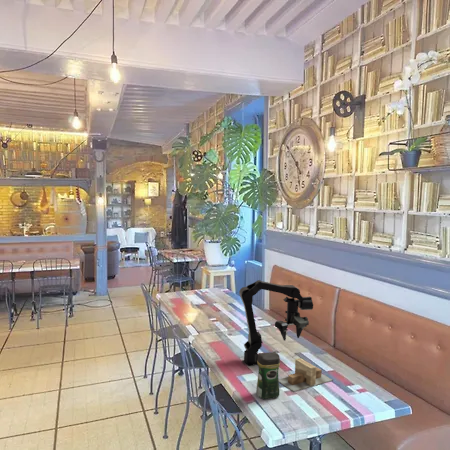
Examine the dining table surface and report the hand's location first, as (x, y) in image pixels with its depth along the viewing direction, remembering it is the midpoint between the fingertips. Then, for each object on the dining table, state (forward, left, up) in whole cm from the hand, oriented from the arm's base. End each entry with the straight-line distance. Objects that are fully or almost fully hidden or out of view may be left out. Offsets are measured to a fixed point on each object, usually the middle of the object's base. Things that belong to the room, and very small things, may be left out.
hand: (291, 339), depth 195 cm
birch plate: (-8, -20, -12) cm, 24 cm away
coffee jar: (-32, -23, -12) cm, 41 cm away
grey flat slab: (-8, -20, -12) cm, 25 cm away
